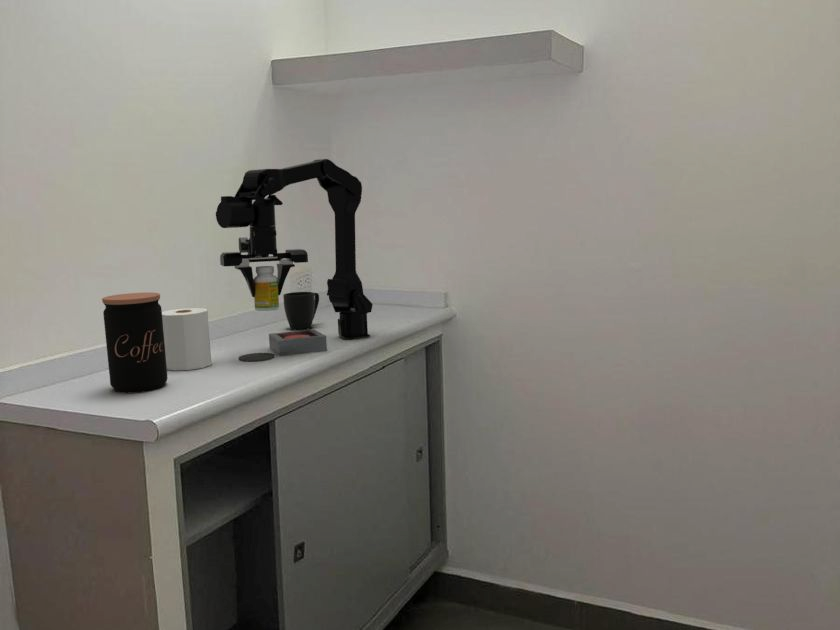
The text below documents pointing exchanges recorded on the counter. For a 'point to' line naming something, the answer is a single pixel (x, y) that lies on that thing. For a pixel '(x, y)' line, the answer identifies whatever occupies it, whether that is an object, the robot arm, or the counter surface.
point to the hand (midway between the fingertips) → (266, 296)
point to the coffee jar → (135, 342)
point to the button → (296, 336)
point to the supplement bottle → (266, 289)
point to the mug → (300, 309)
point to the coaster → (256, 357)
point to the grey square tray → (297, 342)
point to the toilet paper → (186, 338)
